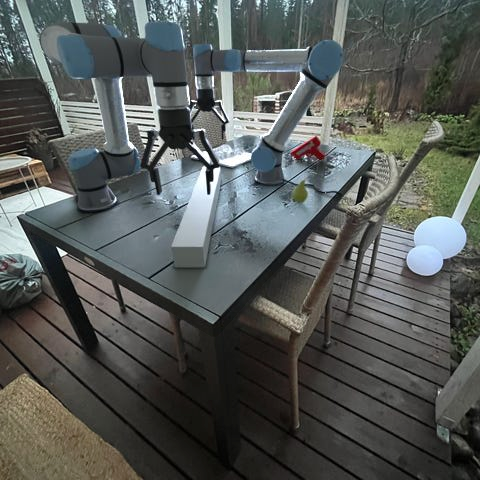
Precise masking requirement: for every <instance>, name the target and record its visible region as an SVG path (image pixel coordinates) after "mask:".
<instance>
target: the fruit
mask: <svg viewBox="0 0 480 480" xmlns="http://www.w3.org/2000/svg"><path fill="white" fill-rule="evenodd" d="M310 177H311V175H310V174H309V175H308V176H307V177H305V179H302V180H301V181H300V182H298V183H297V184H298V186H295V187H294V188H293V190H292V191H291V198H292V200H293V201H294V202H295V203H297V204H301V203H304V202H305V201H306V200H307V198H308V196H309V195H308V190H307V189H306V186H305V184H306V180H308V179H309V178H310Z"/></svg>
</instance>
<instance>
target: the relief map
mask: <svg viewBox="0 0 480 480" xmlns="http://www.w3.org/2000/svg"><path fill="white" fill-rule="evenodd" d="M212 149H213V150H214V152H215V154H216V156H217V158H218V160H219V161H220V166H221V167H222V166H223V167H228V168H231V169H233V168H234V169H235V168H236V167H238V166H241V165H242V164H246V163H248V162H251V154H252V153H250V152H248V151H246V150H245V149H244V148H243V147H240V148H237V149H234V148H232V147H231V146H230V145H229V144H224V143H223V144H222V145H220V146H218V147H215V148H212ZM201 152H202V153H203V154H204V155H205V156H206V157H207V158H208V159H209V160H210V162H211V163H213V162H212V161H211V159H210V157H209V155H208V153H207V152H206V151H201ZM190 158H191V159H192V160H197V161H200V160H199V159H198V158H197V157H196V156H195V155H194V154H193V155H191V156H190Z"/></svg>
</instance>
